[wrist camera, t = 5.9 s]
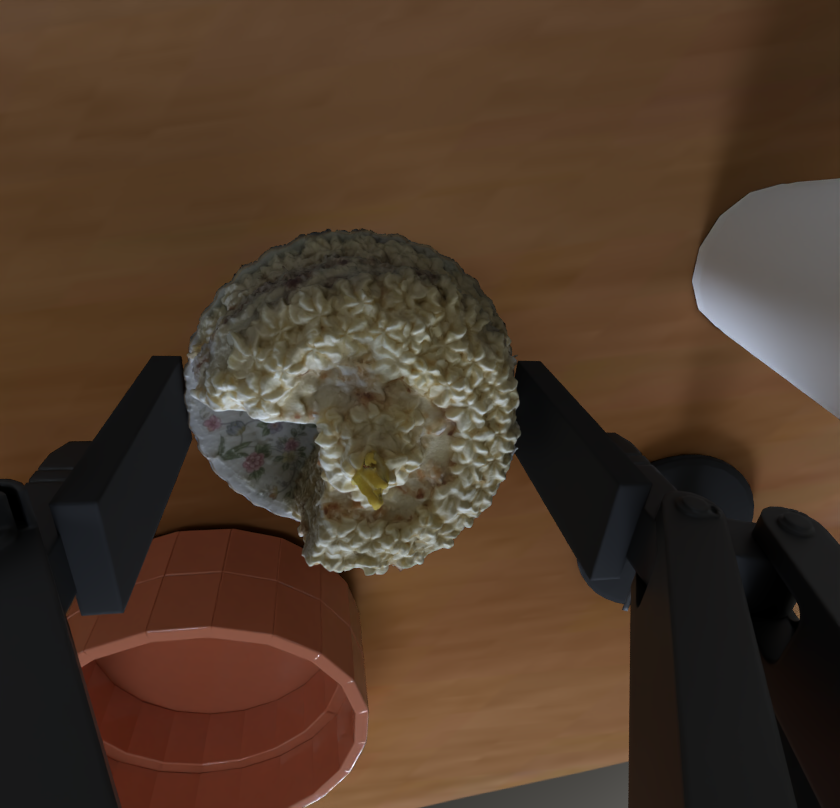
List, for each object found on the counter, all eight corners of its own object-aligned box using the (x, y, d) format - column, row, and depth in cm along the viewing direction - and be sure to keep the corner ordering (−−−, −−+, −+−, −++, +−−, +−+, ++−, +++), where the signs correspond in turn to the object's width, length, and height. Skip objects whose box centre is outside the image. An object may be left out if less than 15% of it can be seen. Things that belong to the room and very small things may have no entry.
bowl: (34, 529, 23) (-48, 647, 18) (362, 514, 26) (374, 613, 21) (96, 731, 29) (48, 862, 24) (354, 702, 32) (362, 814, 27)
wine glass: (724, 589, 33) (1188, 1112, 15) (564, 611, 31) (870, 1216, 14) (773, 444, 28) (1520, 953, 11) (588, 462, 27) (1092, 1082, 9)
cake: (424, 154, 14) (496, 158, 10) (546, 430, 19) (634, 523, 14) (103, 339, 14) (16, 433, 10) (305, 567, 19) (313, 704, 14)
